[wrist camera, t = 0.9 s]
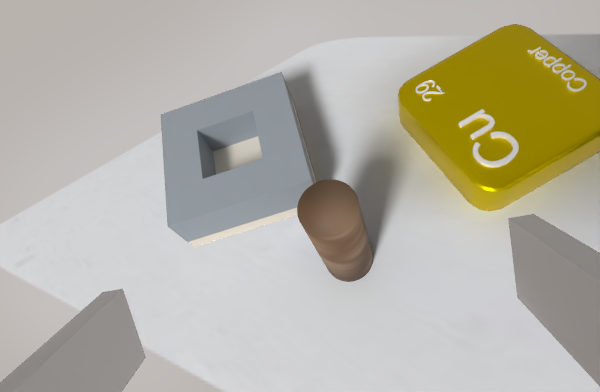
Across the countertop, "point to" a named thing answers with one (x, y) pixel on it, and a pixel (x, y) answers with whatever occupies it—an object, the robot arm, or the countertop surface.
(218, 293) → the countertop surface
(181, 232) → the socket block
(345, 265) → the pin
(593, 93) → the element tile
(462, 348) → the countertop surface
